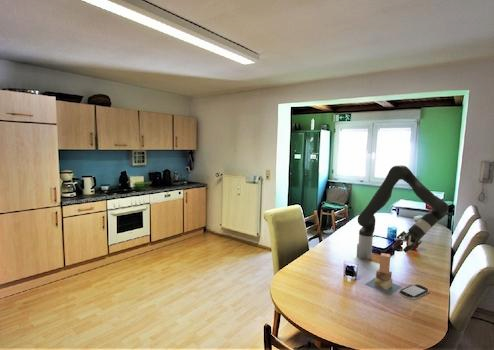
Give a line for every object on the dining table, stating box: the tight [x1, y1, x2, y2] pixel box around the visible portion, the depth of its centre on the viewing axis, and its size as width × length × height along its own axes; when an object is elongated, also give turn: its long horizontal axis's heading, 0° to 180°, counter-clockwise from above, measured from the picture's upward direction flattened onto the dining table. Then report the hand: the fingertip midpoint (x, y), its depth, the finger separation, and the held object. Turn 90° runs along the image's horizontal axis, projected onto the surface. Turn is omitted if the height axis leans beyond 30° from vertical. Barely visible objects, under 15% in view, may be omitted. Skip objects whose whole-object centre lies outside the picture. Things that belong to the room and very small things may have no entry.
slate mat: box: [364, 277, 403, 296], centre depth 159 cm, size 15×15×1 cm
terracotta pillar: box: [378, 252, 391, 274], centre depth 158 cm, size 5×5×10 cm
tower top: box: [375, 269, 393, 282], centre depth 159 cm, size 6×6×4 cm
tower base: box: [374, 276, 393, 290], centre depth 159 cm, size 7×7×4 cm
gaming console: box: [398, 283, 430, 300], centre depth 153 cm, size 19×9×2 cm, turn 121°
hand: (399, 248), depth 158 cm, fingers open, 8 cm apart
